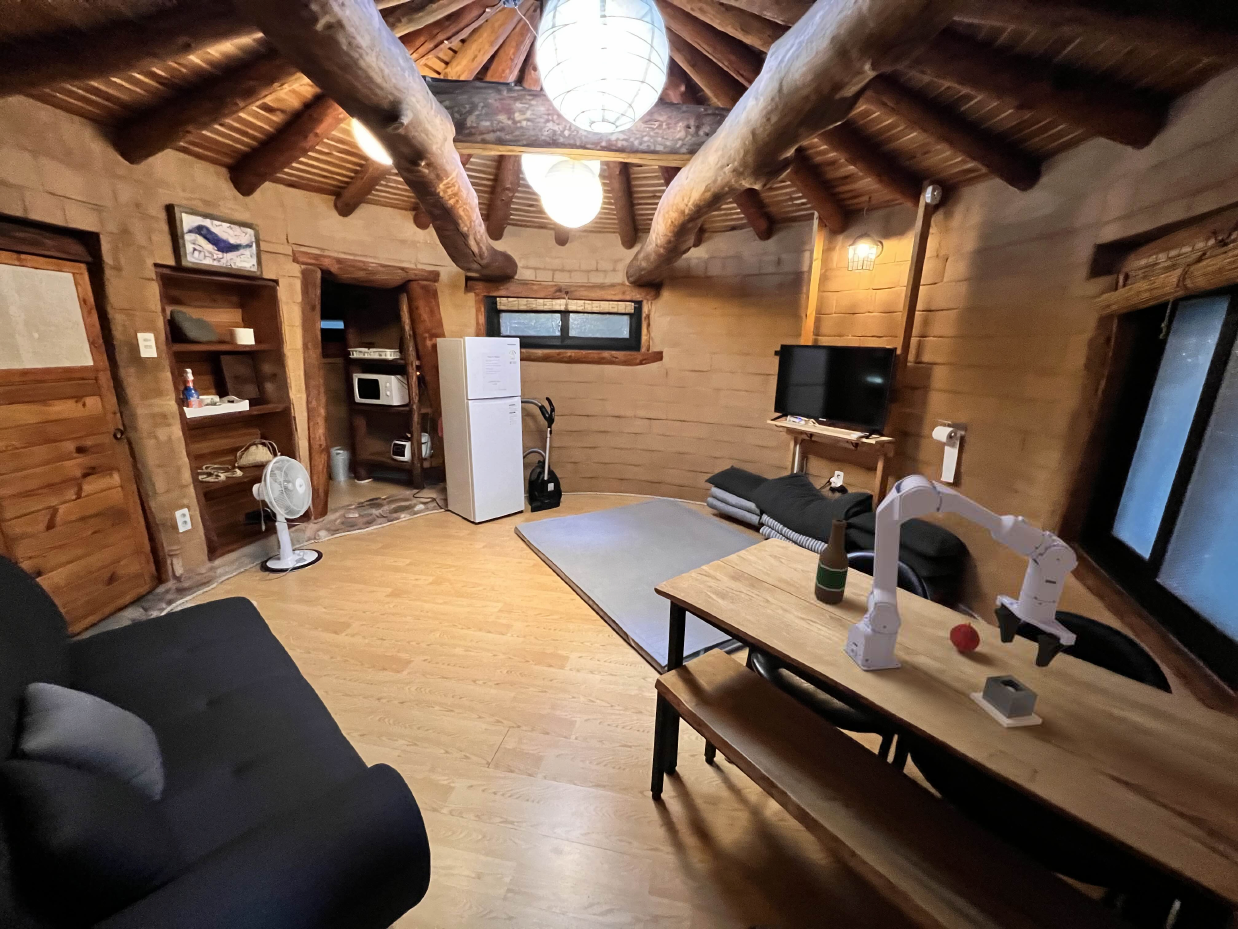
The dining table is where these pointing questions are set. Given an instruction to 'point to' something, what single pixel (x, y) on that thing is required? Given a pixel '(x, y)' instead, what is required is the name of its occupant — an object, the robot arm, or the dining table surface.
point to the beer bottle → (832, 567)
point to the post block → (1001, 718)
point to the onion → (964, 637)
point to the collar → (1009, 696)
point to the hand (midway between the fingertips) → (1023, 653)
